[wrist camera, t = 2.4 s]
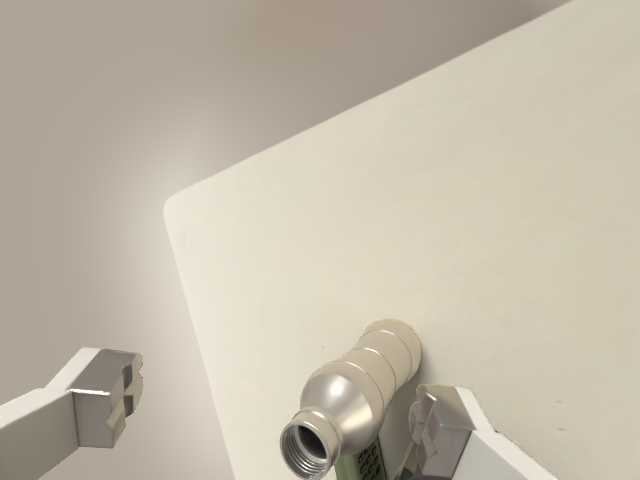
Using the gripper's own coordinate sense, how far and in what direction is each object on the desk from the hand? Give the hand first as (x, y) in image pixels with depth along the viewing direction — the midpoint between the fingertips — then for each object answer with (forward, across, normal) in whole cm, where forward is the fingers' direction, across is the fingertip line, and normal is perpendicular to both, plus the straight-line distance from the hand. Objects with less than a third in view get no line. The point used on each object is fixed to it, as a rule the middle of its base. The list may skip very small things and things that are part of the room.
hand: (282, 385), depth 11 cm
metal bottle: (+24, -13, +15) cm, 32 cm away
